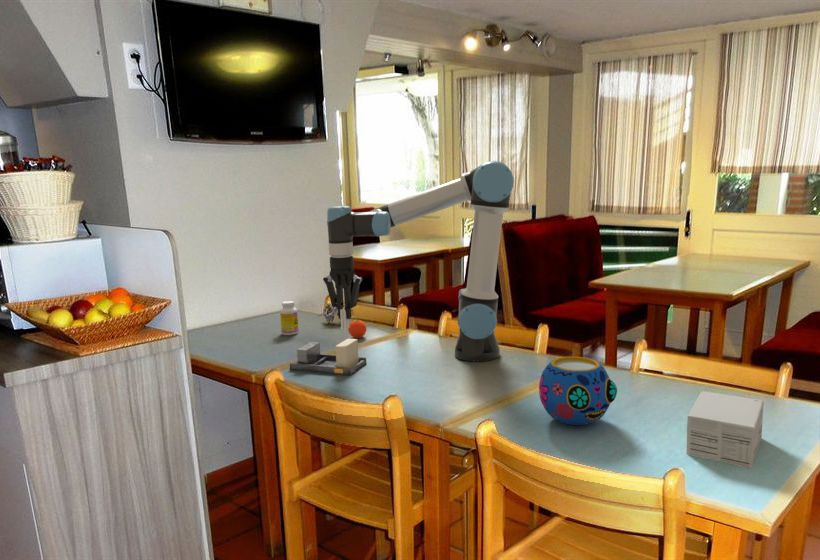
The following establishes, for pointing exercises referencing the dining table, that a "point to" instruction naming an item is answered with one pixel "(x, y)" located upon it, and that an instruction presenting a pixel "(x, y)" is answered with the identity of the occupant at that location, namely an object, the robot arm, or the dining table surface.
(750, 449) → the supplement box
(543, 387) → the ceramic pot
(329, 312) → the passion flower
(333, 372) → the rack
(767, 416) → the dining table surface
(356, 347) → the cream rectangular block
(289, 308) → the supplement bottle
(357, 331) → the clementine
